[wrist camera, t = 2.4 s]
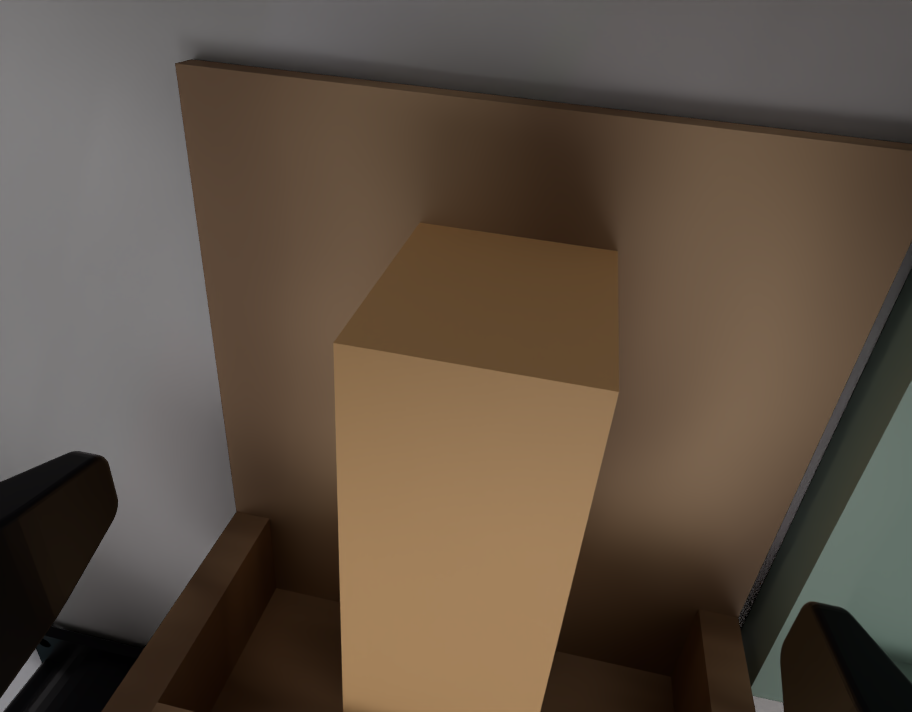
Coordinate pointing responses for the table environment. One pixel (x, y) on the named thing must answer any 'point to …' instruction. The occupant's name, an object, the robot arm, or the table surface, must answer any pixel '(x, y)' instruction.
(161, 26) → the table surface
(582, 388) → the block
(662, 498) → the brown open lidded box
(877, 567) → the tray
